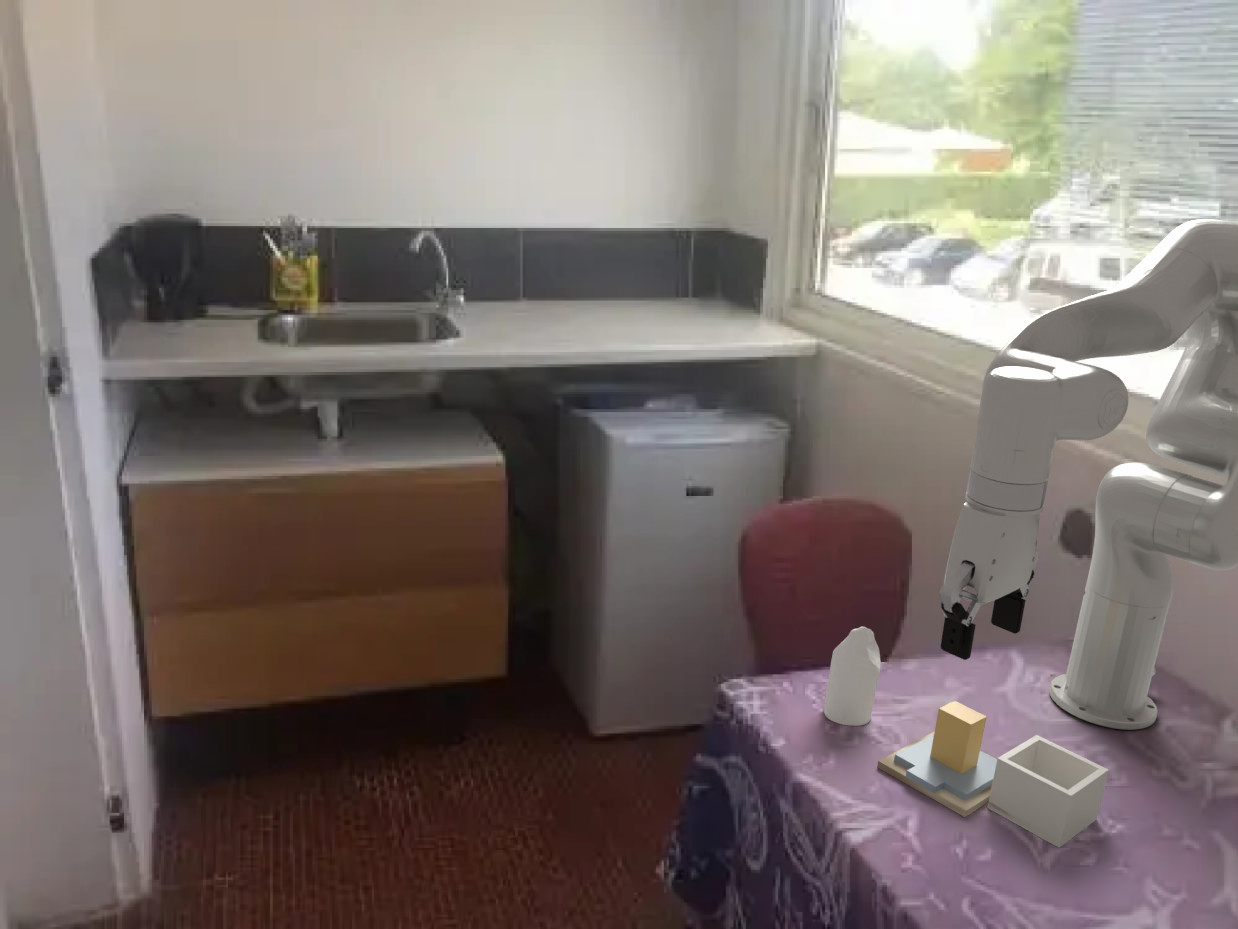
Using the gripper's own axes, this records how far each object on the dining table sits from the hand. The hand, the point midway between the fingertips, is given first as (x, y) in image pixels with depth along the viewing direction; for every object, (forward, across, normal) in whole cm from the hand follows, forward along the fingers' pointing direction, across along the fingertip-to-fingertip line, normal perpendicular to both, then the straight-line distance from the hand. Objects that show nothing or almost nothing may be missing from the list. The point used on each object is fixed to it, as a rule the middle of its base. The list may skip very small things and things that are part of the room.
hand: (980, 641), depth 115 cm
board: (+16, +2, 0) cm, 16 cm away
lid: (+15, +1, 0) cm, 15 cm away
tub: (+16, 0, +10) cm, 19 cm away
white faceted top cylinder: (+16, +1, -15) cm, 22 cm away
